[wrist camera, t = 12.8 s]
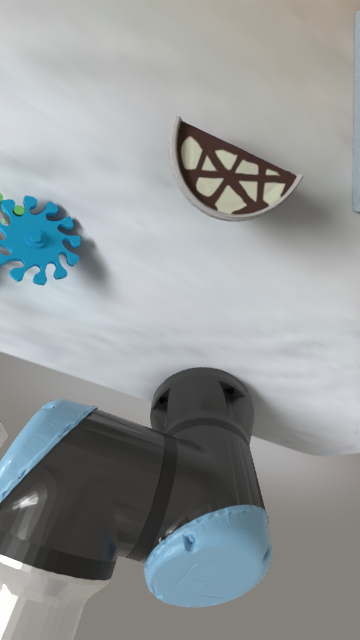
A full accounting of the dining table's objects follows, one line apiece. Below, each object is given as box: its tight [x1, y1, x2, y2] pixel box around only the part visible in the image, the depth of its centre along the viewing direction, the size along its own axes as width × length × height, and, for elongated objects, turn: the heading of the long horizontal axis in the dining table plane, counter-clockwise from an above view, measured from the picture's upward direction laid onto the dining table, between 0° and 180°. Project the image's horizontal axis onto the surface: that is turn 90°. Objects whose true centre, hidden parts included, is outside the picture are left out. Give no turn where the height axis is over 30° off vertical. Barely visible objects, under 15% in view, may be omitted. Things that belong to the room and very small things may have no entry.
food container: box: [169, 116, 303, 221], centre depth 32 cm, size 12×6×10 cm, turn 67°
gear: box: [0, 193, 81, 285], centre depth 38 cm, size 11×6×10 cm
